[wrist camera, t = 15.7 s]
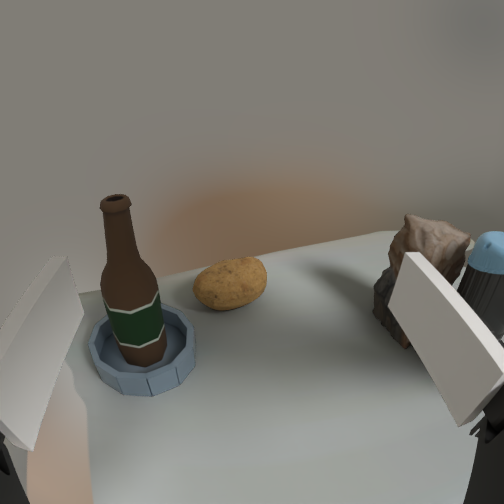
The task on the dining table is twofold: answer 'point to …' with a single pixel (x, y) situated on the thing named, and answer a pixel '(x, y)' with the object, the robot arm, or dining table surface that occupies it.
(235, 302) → the potato
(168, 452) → the dining table surface
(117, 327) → the beer bottle
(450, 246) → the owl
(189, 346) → the bowl
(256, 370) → the dining table surface
